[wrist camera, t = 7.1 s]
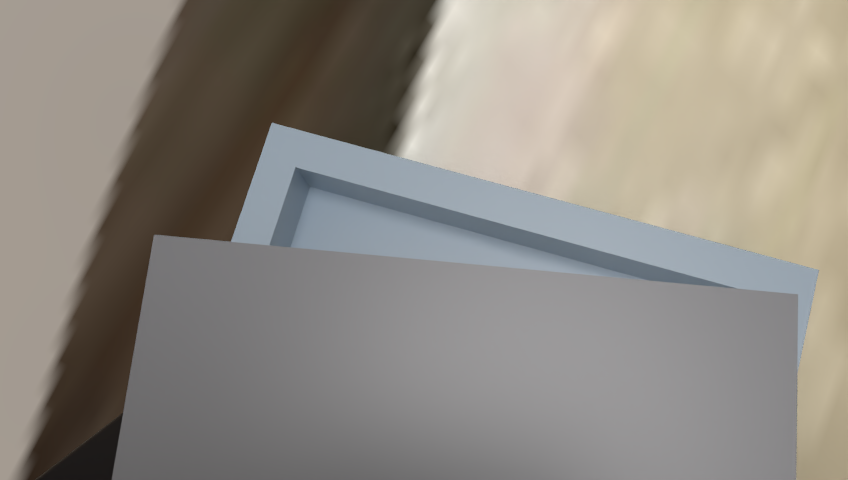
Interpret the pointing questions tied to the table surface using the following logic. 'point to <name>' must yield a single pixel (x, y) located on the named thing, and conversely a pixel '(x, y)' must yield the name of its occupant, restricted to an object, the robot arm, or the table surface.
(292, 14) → the table surface
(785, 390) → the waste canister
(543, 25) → the table surface
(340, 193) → the drip tray
